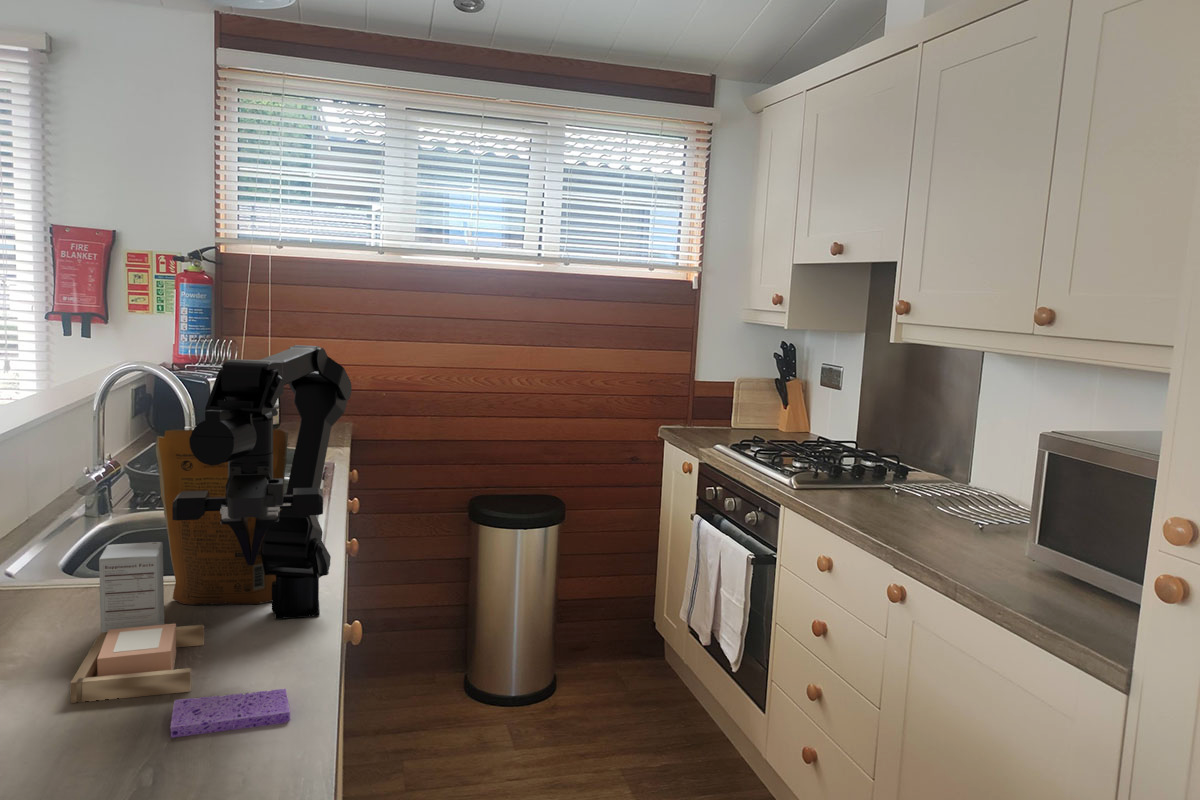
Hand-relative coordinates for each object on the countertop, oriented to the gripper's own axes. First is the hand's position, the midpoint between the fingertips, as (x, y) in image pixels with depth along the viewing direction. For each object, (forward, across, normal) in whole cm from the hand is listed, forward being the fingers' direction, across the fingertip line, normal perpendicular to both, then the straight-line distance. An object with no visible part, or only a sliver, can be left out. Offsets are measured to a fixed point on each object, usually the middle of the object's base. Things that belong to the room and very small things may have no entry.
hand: (250, 564), depth 119 cm
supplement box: (+12, -16, +9) cm, 22 cm away
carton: (+12, -13, -4) cm, 19 cm away
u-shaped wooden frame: (+12, -12, -4) cm, 18 cm away
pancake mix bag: (+12, -5, +21) cm, 25 cm away
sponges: (+13, -1, -20) cm, 24 cm away
